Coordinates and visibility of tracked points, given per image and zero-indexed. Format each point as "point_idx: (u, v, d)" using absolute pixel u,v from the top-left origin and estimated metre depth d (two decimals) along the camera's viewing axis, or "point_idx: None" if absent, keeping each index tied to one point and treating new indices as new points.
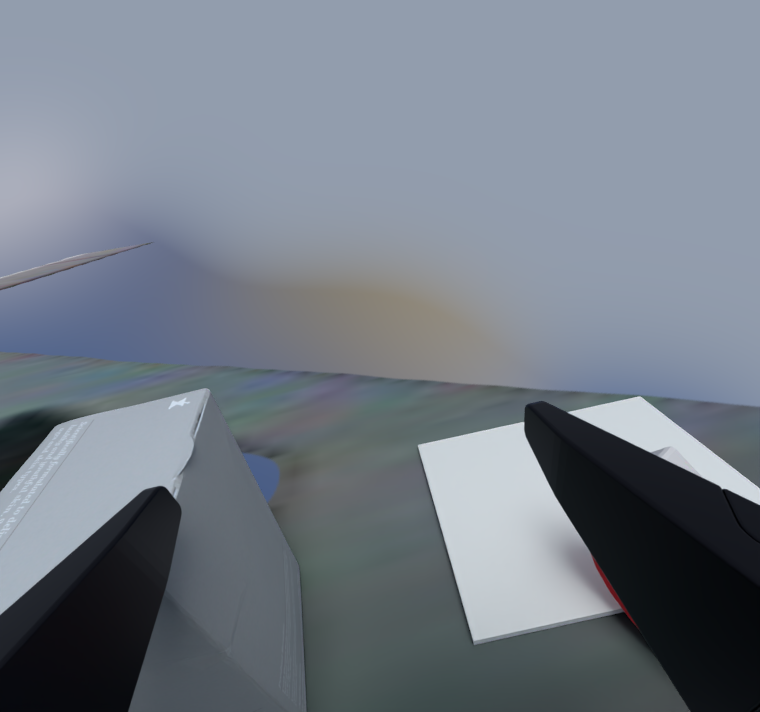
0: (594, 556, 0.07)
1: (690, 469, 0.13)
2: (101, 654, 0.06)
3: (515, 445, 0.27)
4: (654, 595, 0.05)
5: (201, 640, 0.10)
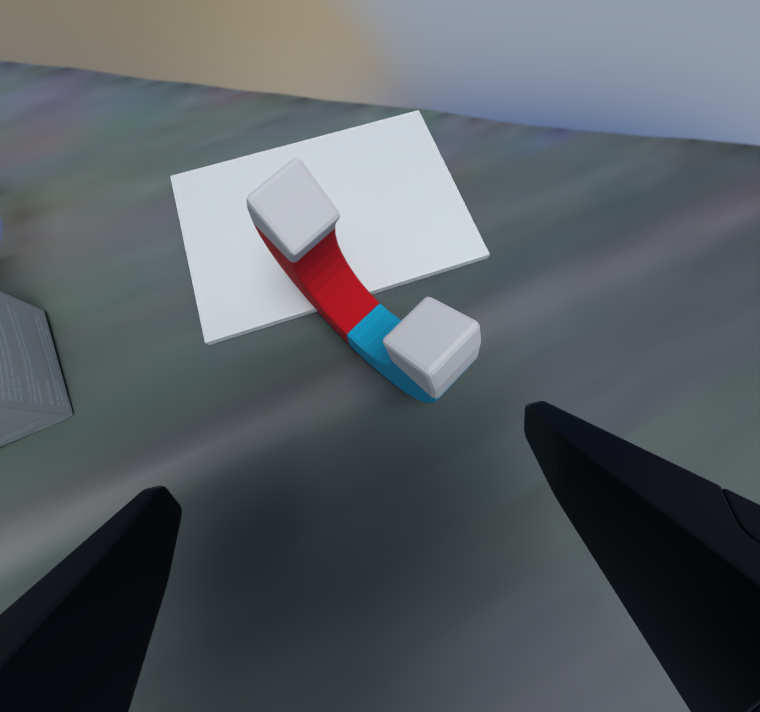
0: (594, 556, 0.07)
1: (310, 182, 0.13)
2: (101, 654, 0.06)
3: None
4: (654, 595, 0.05)
5: None
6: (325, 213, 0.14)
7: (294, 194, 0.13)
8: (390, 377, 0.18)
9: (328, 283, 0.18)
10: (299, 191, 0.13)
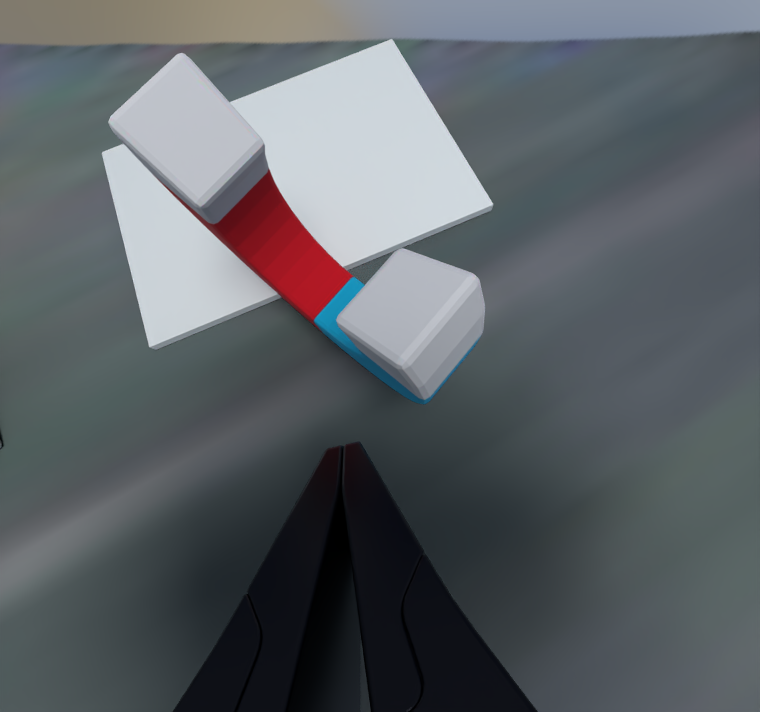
0: None
1: (207, 91, 0.09)
2: None
3: None
4: None
5: None
6: (239, 140, 0.09)
7: (185, 112, 0.09)
8: (372, 371, 0.14)
9: (280, 255, 0.14)
10: (191, 107, 0.09)
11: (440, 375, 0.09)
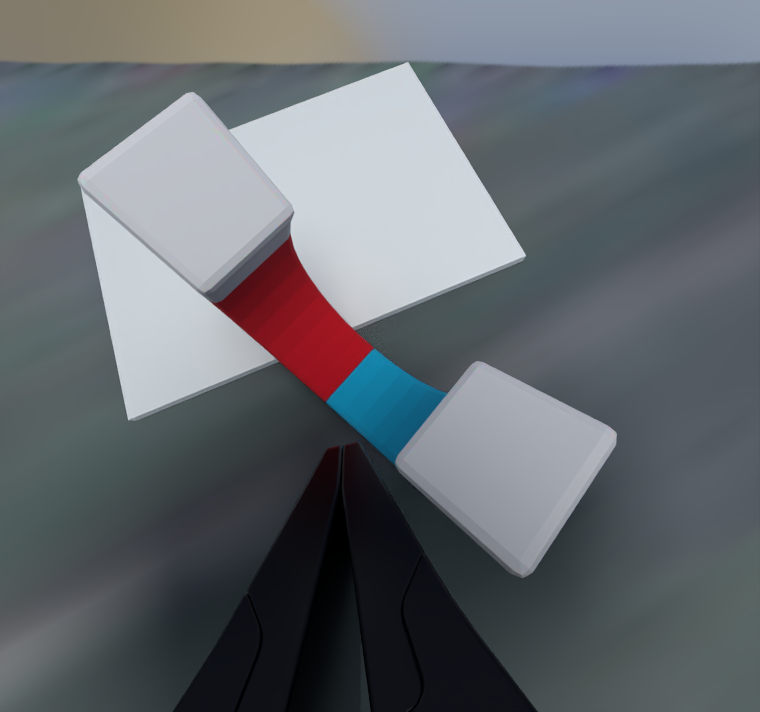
0: None
1: (225, 144, 0.06)
2: None
3: None
4: None
5: None
6: (263, 207, 0.07)
7: (192, 170, 0.06)
8: None
9: (290, 326, 0.11)
10: (201, 164, 0.06)
11: None
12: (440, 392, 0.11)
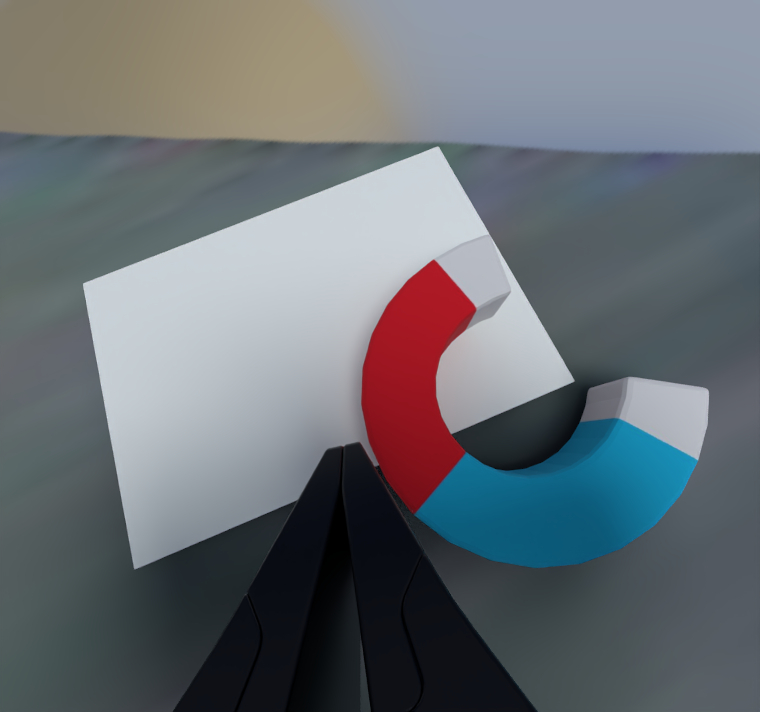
0: None
1: None
2: None
3: (236, 265, 0.17)
4: None
5: None
6: None
7: None
8: (558, 524, 0.11)
9: None
10: None
11: None
12: (537, 464, 0.14)
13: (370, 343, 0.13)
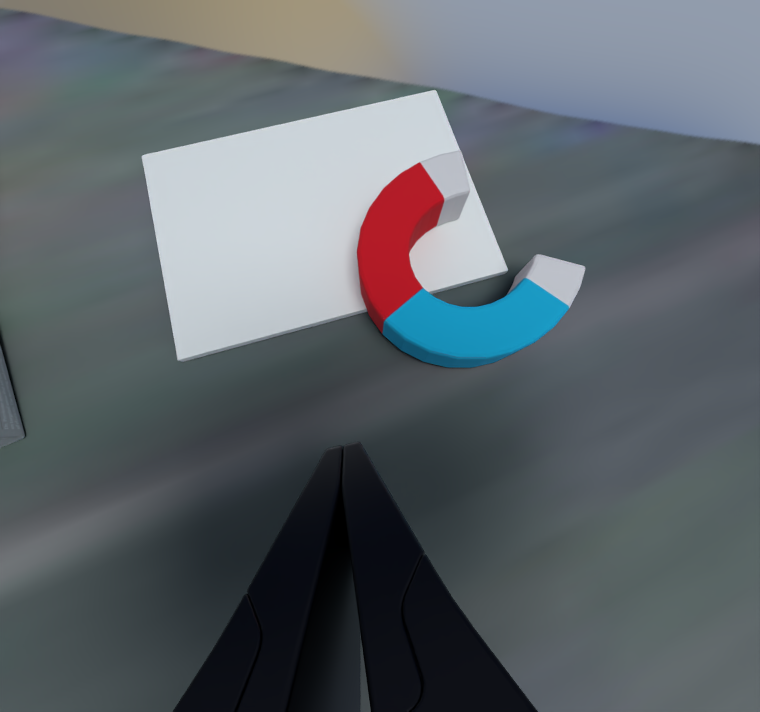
0: None
1: None
2: None
3: (267, 158, 0.22)
4: None
5: None
6: None
7: None
8: (475, 334, 0.17)
9: (408, 249, 0.19)
10: None
11: None
12: None
13: (367, 212, 0.18)
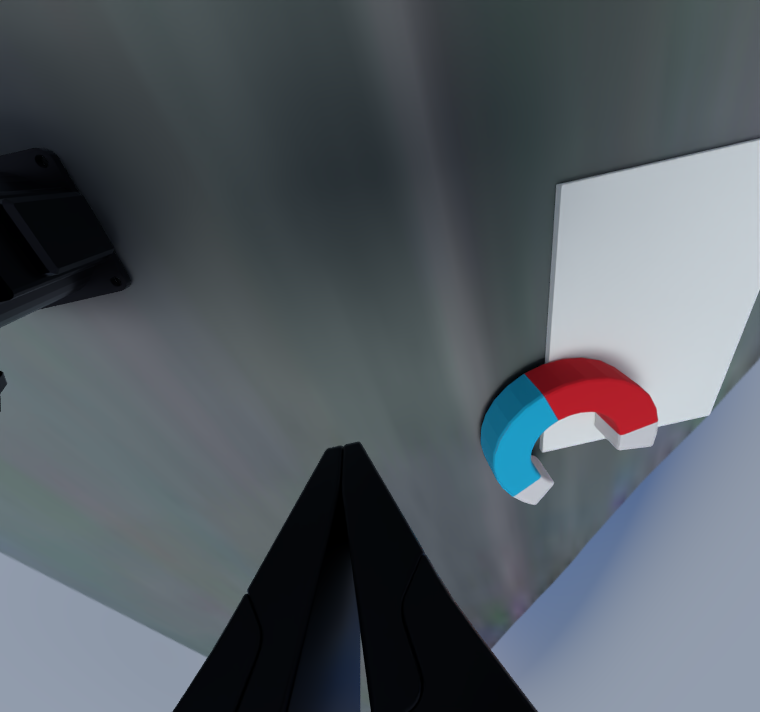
0: None
1: None
2: None
3: (731, 277, 0.21)
4: None
5: None
6: None
7: None
8: (513, 450, 0.23)
9: None
10: None
11: None
12: None
13: (635, 385, 0.21)
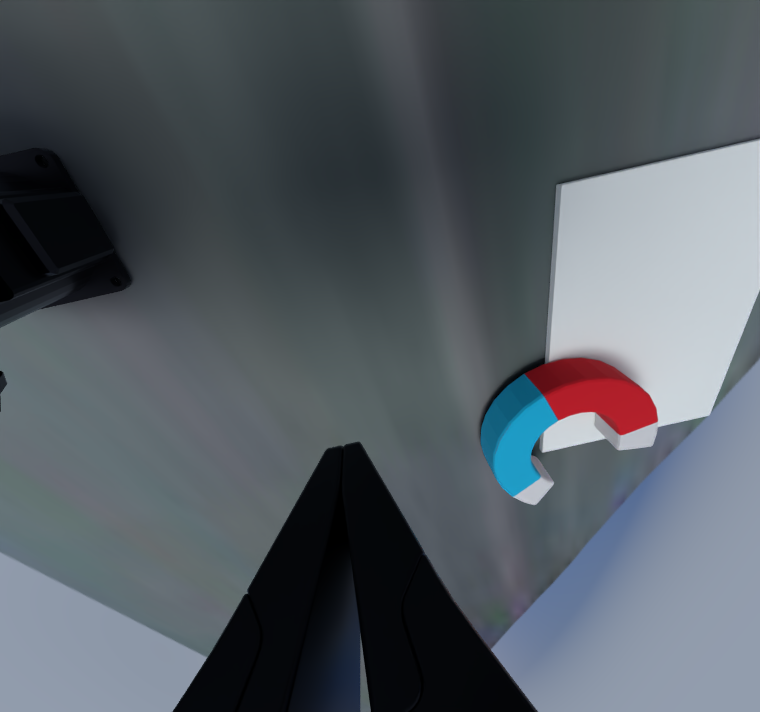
0: None
1: None
2: None
3: (731, 277, 0.21)
4: None
5: None
6: None
7: None
8: (513, 450, 0.23)
9: None
10: None
11: None
12: None
13: (635, 385, 0.21)
